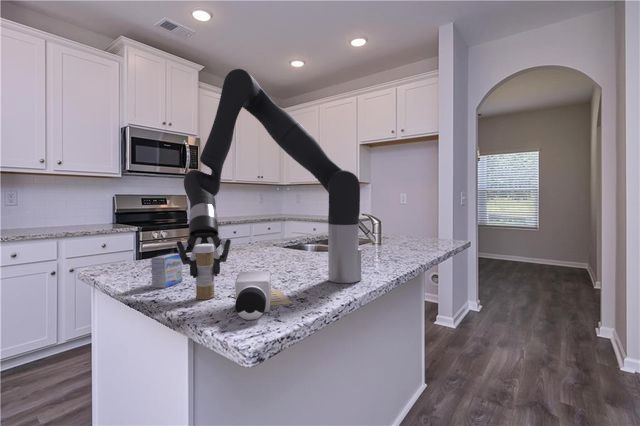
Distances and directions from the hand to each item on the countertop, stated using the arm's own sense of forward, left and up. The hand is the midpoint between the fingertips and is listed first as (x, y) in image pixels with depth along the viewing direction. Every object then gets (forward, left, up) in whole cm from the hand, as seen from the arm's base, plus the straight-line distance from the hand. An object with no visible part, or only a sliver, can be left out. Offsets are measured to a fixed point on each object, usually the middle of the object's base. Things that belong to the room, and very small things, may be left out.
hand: (205, 275), depth 80 cm
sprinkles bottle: (0, -2, -6) cm, 7 cm away
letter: (-13, +4, -6) cm, 15 cm away
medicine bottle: (-11, +7, -2) cm, 13 cm away
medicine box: (+10, -20, -6) cm, 23 cm away
